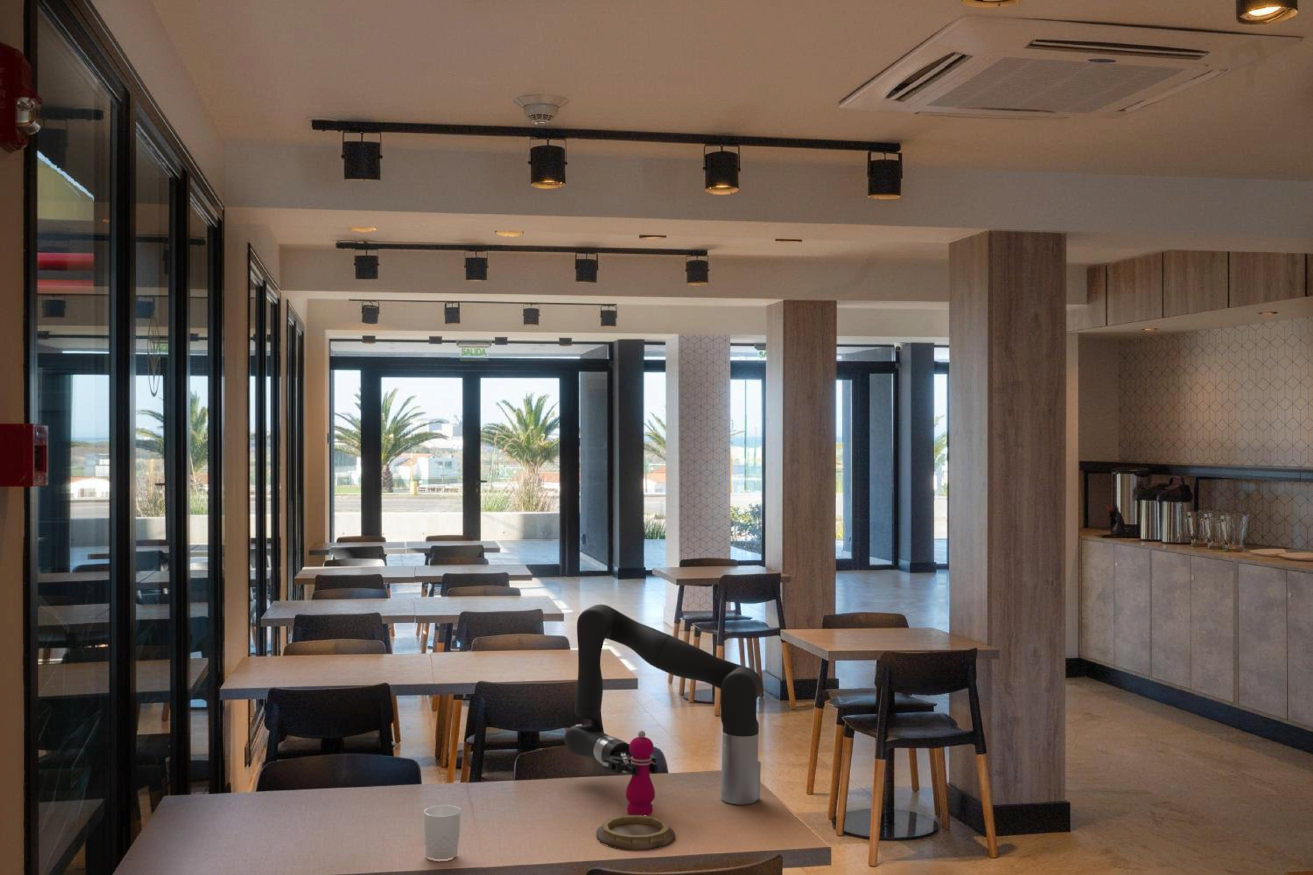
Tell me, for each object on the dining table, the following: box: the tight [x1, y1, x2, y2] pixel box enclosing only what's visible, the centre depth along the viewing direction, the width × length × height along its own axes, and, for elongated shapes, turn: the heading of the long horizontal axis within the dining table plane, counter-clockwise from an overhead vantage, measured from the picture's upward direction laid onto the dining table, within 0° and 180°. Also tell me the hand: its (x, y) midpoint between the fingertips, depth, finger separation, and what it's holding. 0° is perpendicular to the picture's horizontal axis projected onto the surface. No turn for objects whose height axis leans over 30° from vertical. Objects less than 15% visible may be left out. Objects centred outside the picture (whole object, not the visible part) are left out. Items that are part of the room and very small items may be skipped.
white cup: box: [423, 804, 462, 859], centre depth 255 cm, size 8×8×10 cm
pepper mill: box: [625, 730, 656, 816], centre depth 288 cm, size 7×7×20 cm
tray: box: [595, 814, 675, 851], centre depth 270 cm, size 18×18×2 cm
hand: (646, 770), depth 286 cm, fingers closed on pepper mill, 4 cm apart
